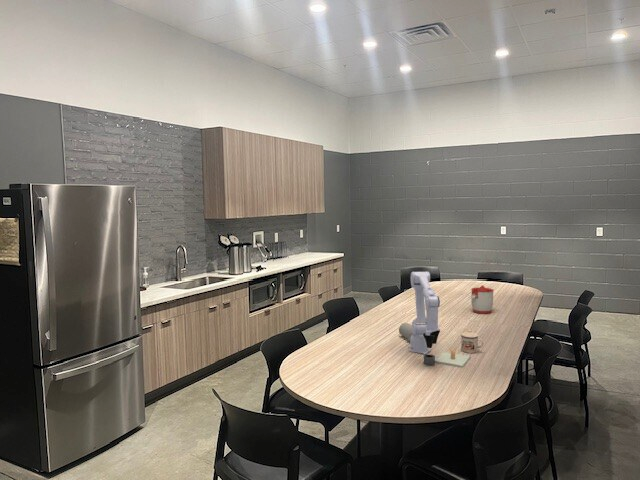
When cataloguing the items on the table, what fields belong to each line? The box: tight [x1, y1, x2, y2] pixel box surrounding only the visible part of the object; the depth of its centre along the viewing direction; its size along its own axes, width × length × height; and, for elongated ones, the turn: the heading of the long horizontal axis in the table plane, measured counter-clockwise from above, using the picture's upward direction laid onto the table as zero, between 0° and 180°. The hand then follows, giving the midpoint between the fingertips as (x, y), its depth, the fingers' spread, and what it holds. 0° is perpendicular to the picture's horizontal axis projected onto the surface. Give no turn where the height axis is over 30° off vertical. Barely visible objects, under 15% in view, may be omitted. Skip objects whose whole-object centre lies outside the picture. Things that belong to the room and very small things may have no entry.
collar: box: [423, 353, 436, 367], centre depth 242 cm, size 6×6×4 cm
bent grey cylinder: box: [398, 322, 413, 343], centre depth 282 cm, size 18×11×20 cm
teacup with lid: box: [460, 329, 485, 354], centre depth 261 cm, size 12×9×12 cm
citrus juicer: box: [470, 285, 494, 315], centre depth 345 cm, size 16×17×20 cm
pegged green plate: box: [435, 348, 471, 368], centre depth 246 cm, size 14×16×6 cm
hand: (431, 345), depth 241 cm, fingers open, 7 cm apart
